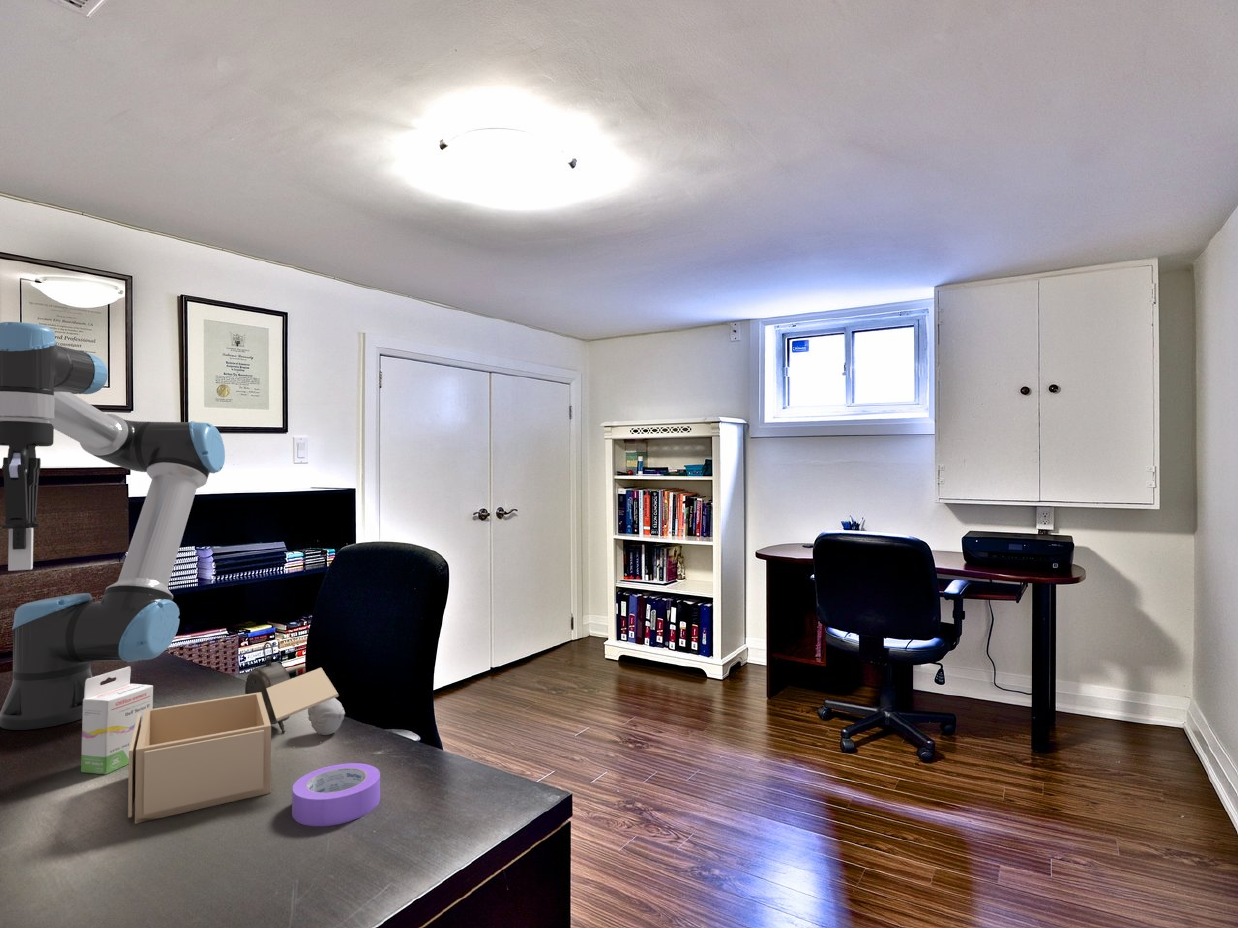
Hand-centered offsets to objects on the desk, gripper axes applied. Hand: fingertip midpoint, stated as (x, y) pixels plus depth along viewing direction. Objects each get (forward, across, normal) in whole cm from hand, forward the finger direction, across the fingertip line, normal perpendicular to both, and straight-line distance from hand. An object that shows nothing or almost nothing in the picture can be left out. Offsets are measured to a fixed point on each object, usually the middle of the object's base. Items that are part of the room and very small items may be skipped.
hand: (20, 569), depth 106 cm
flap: (+22, +19, +34) cm, 44 cm away
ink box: (+33, +3, +13) cm, 35 cm away
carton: (+32, +19, +25) cm, 45 cm away
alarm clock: (+33, 0, +35) cm, 48 cm away
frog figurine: (+33, +8, +44) cm, 55 cm away
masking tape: (+33, +37, +41) cm, 64 cm away
